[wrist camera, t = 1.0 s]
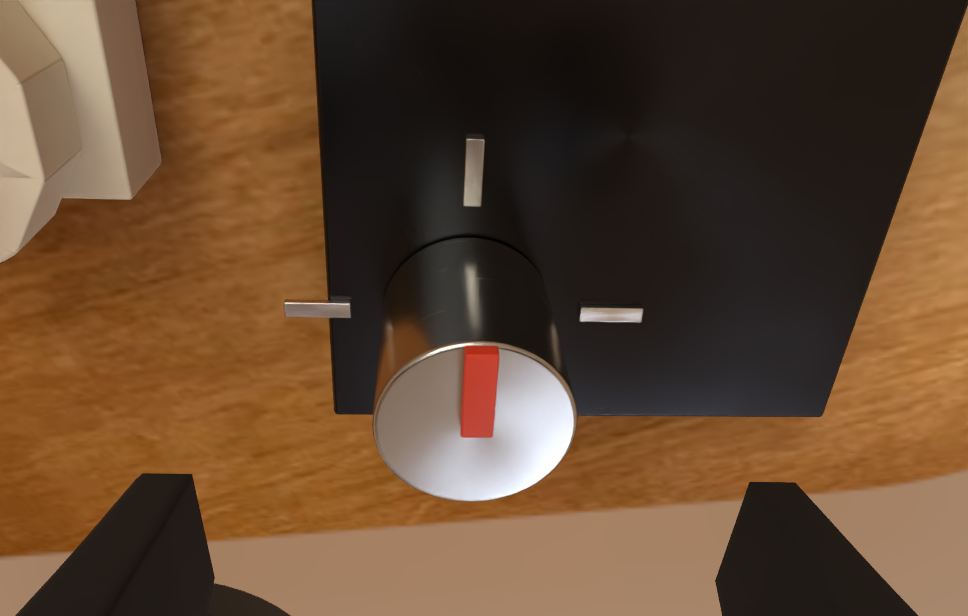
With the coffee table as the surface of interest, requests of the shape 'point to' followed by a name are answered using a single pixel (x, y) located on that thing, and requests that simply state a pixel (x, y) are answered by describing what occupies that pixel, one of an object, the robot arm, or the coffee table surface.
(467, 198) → the stove panel
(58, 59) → the igniter
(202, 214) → the coffee table surface
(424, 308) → the stove knob
